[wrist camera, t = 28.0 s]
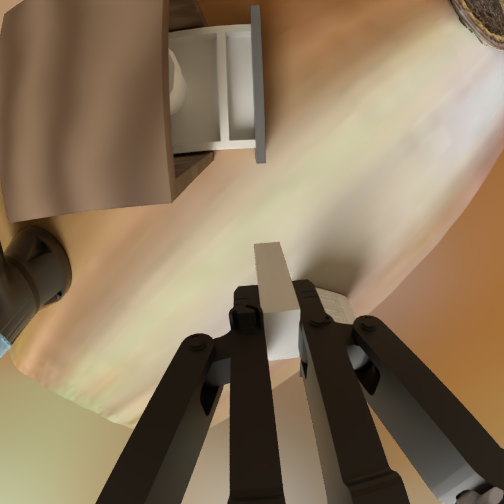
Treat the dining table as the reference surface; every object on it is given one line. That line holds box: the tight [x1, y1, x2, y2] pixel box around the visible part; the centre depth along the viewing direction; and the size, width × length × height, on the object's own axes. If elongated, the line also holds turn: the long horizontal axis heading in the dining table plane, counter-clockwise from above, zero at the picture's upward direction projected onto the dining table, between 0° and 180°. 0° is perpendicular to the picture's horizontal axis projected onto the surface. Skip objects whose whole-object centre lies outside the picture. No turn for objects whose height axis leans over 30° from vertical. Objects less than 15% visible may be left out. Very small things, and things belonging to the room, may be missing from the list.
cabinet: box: [0, 0, 213, 223], centre depth 22 cm, size 15×19×22 cm
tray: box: [168, 5, 266, 163], centre depth 28 cm, size 20×19×7 cm
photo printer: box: [315, 287, 356, 324], centre depth 40 cm, size 10×4×12 cm, turn 73°
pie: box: [450, 0, 504, 52], centre depth 19 cm, size 28×27×5 cm
